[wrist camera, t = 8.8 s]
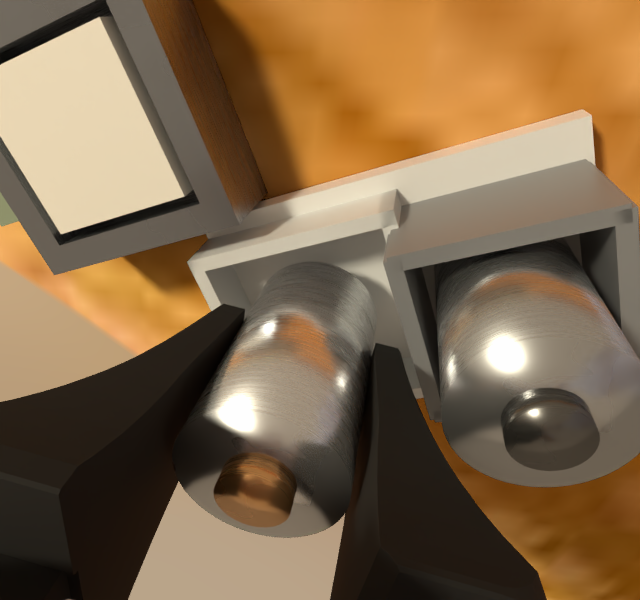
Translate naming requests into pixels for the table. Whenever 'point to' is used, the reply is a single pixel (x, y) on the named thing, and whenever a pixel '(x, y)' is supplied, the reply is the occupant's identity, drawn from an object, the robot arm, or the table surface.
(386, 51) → the table surface
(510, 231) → the battery holder
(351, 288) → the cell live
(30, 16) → the cradle
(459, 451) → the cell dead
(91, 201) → the pad
